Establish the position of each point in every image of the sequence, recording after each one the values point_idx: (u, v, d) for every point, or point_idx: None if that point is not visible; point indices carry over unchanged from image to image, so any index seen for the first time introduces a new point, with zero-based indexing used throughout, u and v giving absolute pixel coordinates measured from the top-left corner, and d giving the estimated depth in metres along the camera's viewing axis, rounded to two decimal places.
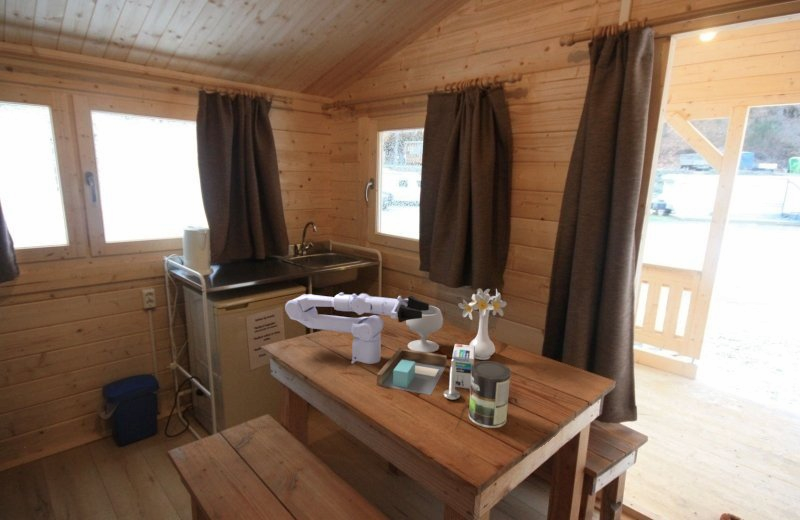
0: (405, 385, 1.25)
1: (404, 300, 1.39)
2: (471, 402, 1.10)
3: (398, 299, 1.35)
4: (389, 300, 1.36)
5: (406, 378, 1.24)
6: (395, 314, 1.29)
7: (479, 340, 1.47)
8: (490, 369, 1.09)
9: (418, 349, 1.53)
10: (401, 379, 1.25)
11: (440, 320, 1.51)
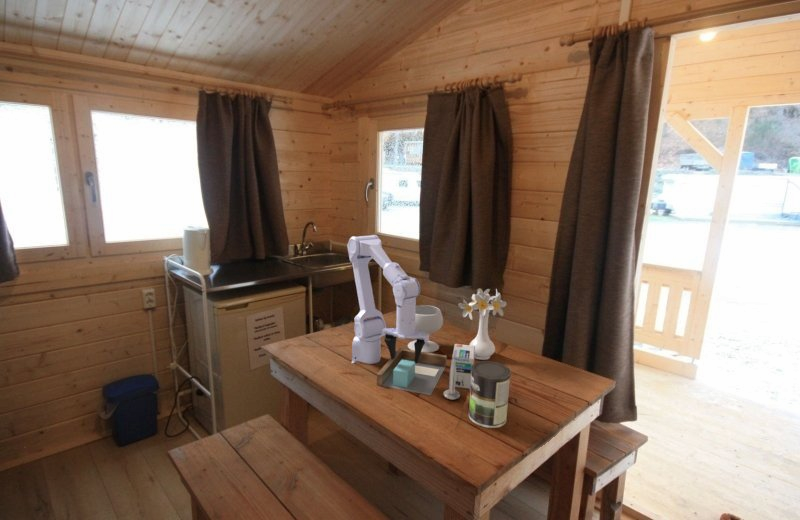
0: (405, 385, 1.25)
1: None
2: (471, 402, 1.10)
3: None
4: (399, 325, 1.23)
5: (406, 378, 1.24)
6: None
7: (479, 340, 1.47)
8: (490, 369, 1.09)
9: None
10: (401, 379, 1.25)
11: (440, 320, 1.51)
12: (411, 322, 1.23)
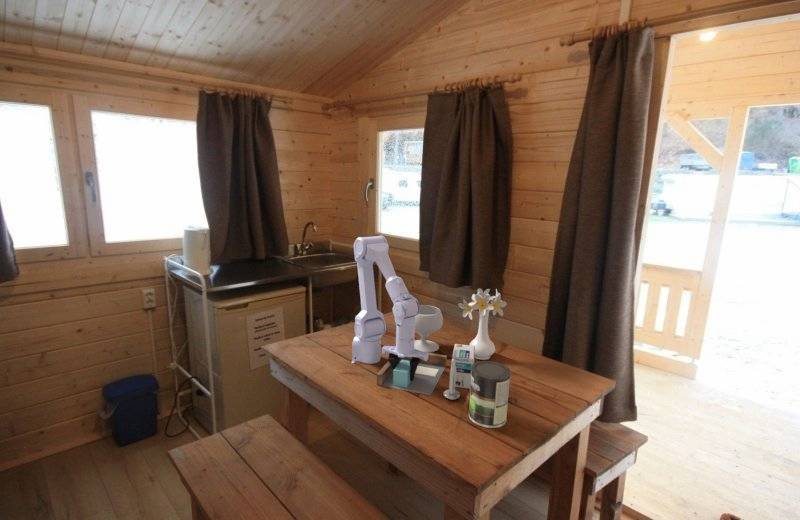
0: (405, 385, 1.25)
1: None
2: (471, 402, 1.10)
3: None
4: (399, 344, 1.24)
5: (406, 378, 1.24)
6: None
7: (479, 340, 1.47)
8: (490, 369, 1.09)
9: (418, 349, 1.53)
10: (401, 379, 1.25)
11: (440, 320, 1.51)
12: (410, 341, 1.24)
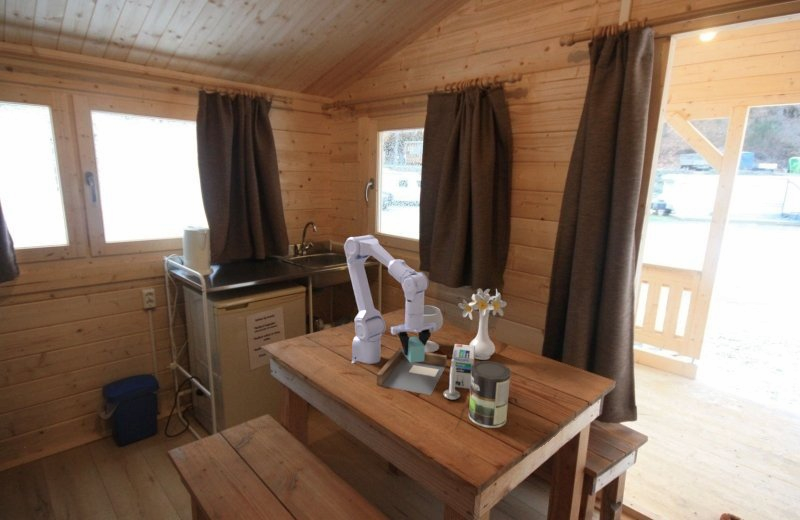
0: (422, 359, 1.27)
1: None
2: (471, 402, 1.10)
3: (414, 330, 1.25)
4: (414, 320, 1.25)
5: (423, 352, 1.27)
6: (392, 333, 1.26)
7: (479, 340, 1.47)
8: (490, 369, 1.09)
9: None
10: (418, 354, 1.26)
11: (440, 320, 1.51)
12: (423, 314, 1.27)
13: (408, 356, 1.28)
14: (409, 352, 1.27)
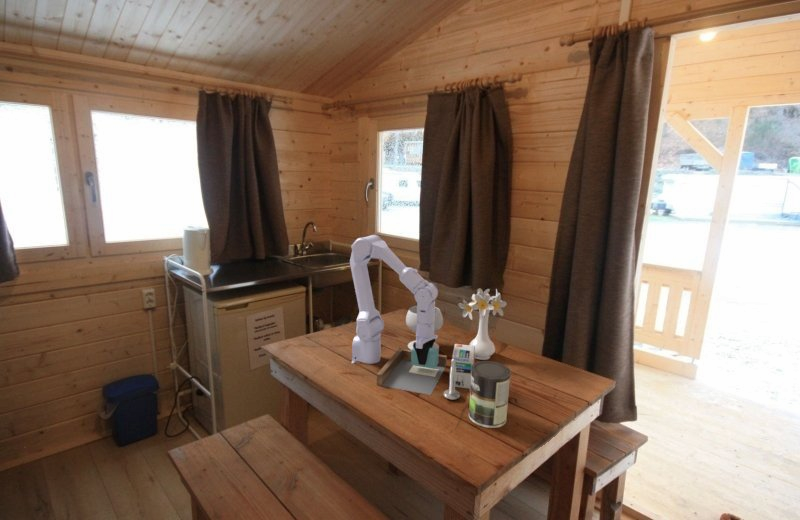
0: (437, 361, 1.35)
1: None
2: (471, 402, 1.10)
3: (434, 338, 1.31)
4: (432, 328, 1.31)
5: (438, 355, 1.35)
6: (420, 347, 1.27)
7: (479, 340, 1.47)
8: (490, 369, 1.10)
9: None
10: (437, 358, 1.34)
11: (440, 320, 1.51)
12: None
13: (428, 365, 1.32)
14: (431, 360, 1.32)
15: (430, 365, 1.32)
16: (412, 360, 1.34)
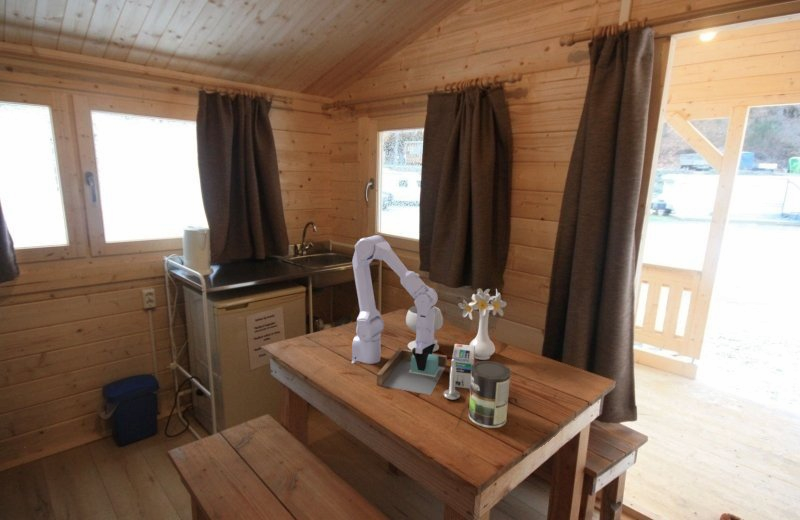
0: (437, 368, 1.36)
1: None
2: (471, 402, 1.10)
3: (433, 342, 1.32)
4: (432, 333, 1.31)
5: (437, 361, 1.36)
6: (419, 352, 1.27)
7: (479, 340, 1.47)
8: (490, 369, 1.10)
9: None
10: (436, 365, 1.34)
11: (440, 320, 1.51)
12: None
13: (427, 371, 1.33)
14: (431, 366, 1.32)
15: (430, 372, 1.33)
16: (412, 367, 1.34)
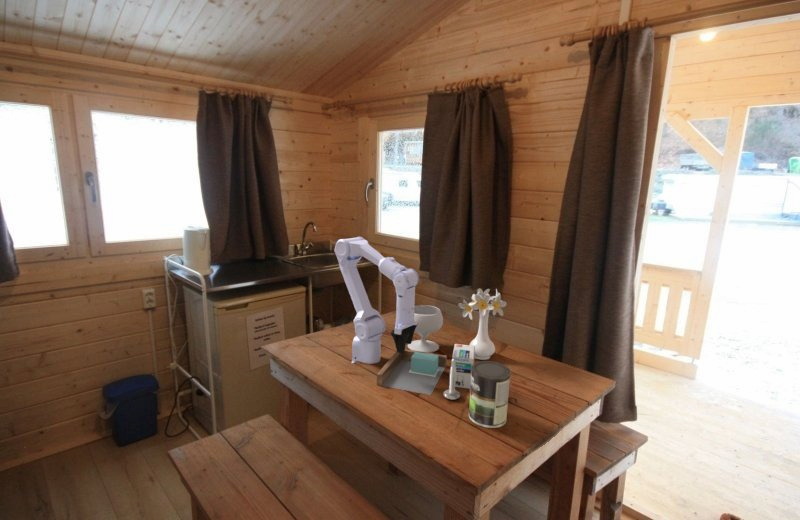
0: (437, 368, 1.36)
1: None
2: (471, 402, 1.10)
3: (413, 324, 1.29)
4: (412, 314, 1.29)
5: (437, 361, 1.36)
6: (398, 333, 1.25)
7: (479, 340, 1.47)
8: (490, 369, 1.09)
9: (418, 349, 1.53)
10: (436, 365, 1.34)
11: (440, 320, 1.51)
12: None
13: (427, 371, 1.33)
14: (431, 366, 1.32)
15: (430, 372, 1.33)
16: (412, 367, 1.34)
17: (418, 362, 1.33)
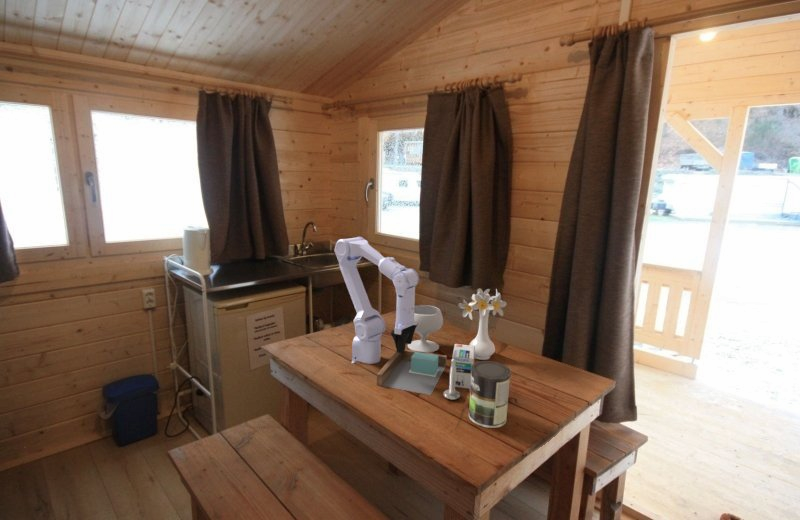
0: (437, 368, 1.36)
1: None
2: (471, 402, 1.10)
3: (413, 324, 1.29)
4: (412, 314, 1.29)
5: (437, 361, 1.36)
6: (398, 333, 1.25)
7: (479, 340, 1.47)
8: (490, 369, 1.09)
9: (418, 349, 1.53)
10: (436, 365, 1.34)
11: (440, 320, 1.51)
12: None
13: (427, 371, 1.33)
14: (431, 366, 1.32)
15: (430, 372, 1.33)
16: (412, 367, 1.34)
17: (418, 362, 1.33)
